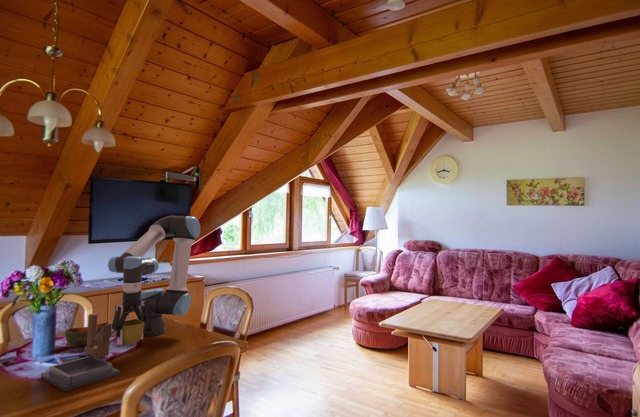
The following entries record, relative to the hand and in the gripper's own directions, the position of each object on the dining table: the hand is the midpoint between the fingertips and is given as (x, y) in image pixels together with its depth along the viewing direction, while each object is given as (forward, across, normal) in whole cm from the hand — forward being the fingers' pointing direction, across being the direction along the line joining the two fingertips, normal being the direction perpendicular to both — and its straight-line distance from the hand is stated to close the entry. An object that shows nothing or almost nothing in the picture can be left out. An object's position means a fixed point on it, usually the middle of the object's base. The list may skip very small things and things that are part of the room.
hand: (130, 341), depth 175 cm
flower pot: (+1, 0, 0) cm, 1 cm away
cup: (+8, -3, +30) cm, 31 cm away
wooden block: (+7, -8, +14) cm, 17 cm away
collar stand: (+7, -23, -4) cm, 24 cm away
